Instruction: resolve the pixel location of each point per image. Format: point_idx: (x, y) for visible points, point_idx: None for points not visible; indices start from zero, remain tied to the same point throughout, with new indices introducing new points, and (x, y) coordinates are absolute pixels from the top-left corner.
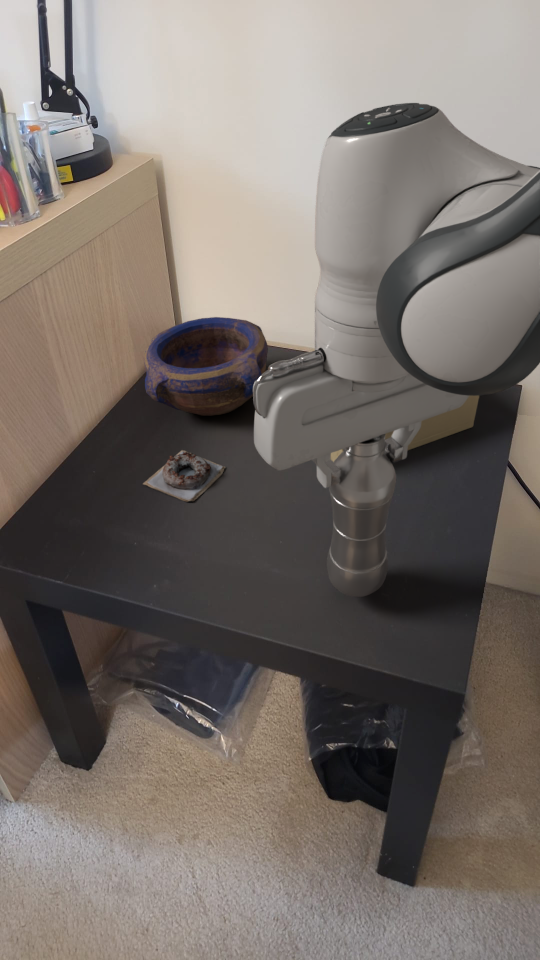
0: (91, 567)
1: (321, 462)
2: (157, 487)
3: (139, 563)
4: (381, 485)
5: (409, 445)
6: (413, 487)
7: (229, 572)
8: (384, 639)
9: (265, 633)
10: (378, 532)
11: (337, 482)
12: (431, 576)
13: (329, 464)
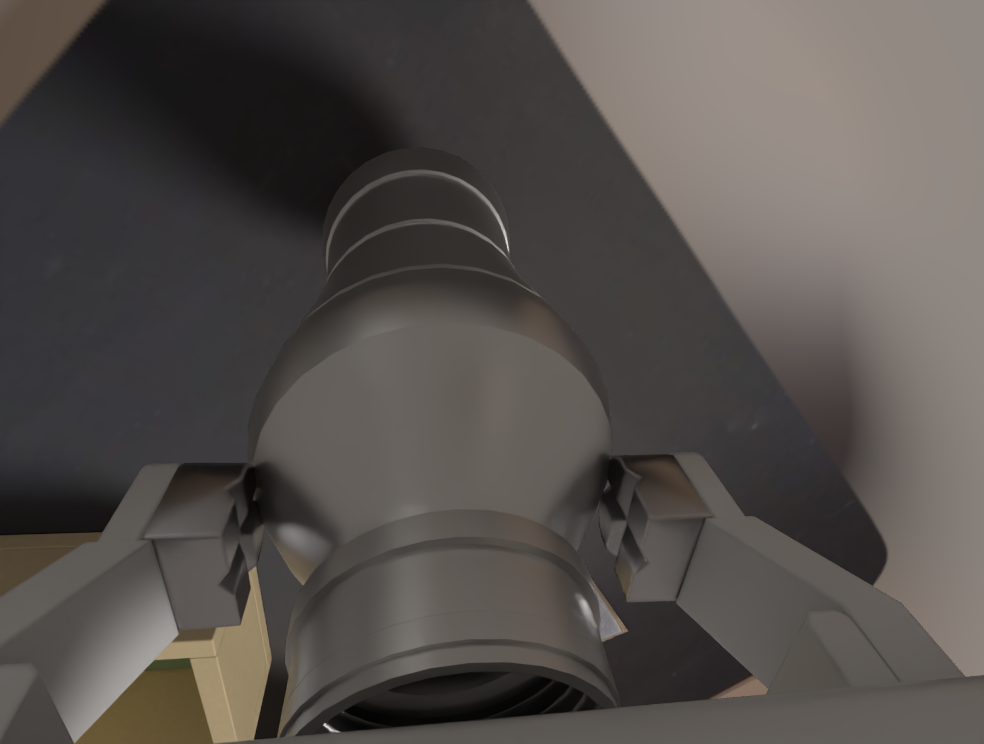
0: (808, 505)
1: (875, 610)
2: (611, 616)
3: (742, 482)
4: (431, 338)
5: (27, 545)
6: (84, 430)
7: (623, 394)
8: (434, 33)
9: (663, 216)
10: (404, 227)
11: (635, 459)
12: (190, 149)
13: (664, 573)
